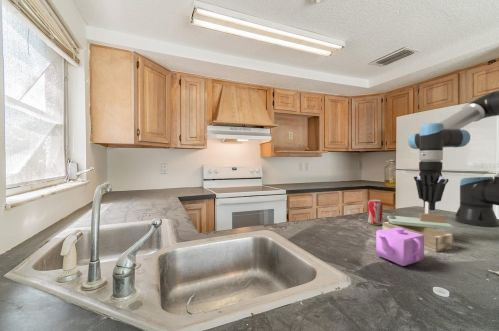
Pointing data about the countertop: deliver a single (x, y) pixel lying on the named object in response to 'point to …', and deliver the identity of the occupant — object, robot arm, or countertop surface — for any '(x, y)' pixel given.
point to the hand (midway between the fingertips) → (428, 217)
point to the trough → (428, 236)
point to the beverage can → (375, 212)
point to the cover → (422, 221)
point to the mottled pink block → (400, 246)
